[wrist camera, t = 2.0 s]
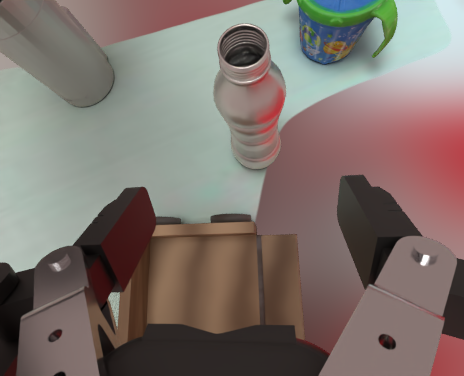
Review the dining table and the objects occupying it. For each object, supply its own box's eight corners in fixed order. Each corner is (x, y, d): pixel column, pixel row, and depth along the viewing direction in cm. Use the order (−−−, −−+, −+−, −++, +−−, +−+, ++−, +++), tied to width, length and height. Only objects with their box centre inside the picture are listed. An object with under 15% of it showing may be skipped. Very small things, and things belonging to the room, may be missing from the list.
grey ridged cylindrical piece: (267, 121, 39) (264, -10, 19) (288, 161, 37) (309, 62, 18) (226, 140, 39) (182, 30, 20) (245, 181, 37) (219, 105, 18)
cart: (294, 216, 35) (299, 209, 29) (306, 366, 31) (314, 392, 25) (147, 222, 38) (125, 216, 32) (140, 361, 34) (113, 384, 28)
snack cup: (394, 52, 38) (437, -17, 29) (340, 100, 38) (364, 47, 28) (314, -6, 43) (327, -84, 33) (264, 36, 42) (262, -30, 32)
